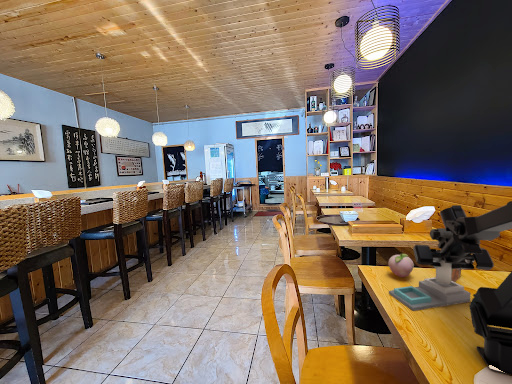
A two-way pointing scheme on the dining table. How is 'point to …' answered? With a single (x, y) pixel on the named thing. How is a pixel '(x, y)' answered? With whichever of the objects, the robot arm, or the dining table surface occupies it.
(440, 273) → the white rounded cylinder
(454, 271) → the tin
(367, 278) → the dining table surface
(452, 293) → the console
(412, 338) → the dining table surface
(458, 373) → the dining table surface
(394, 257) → the decorative fruit
